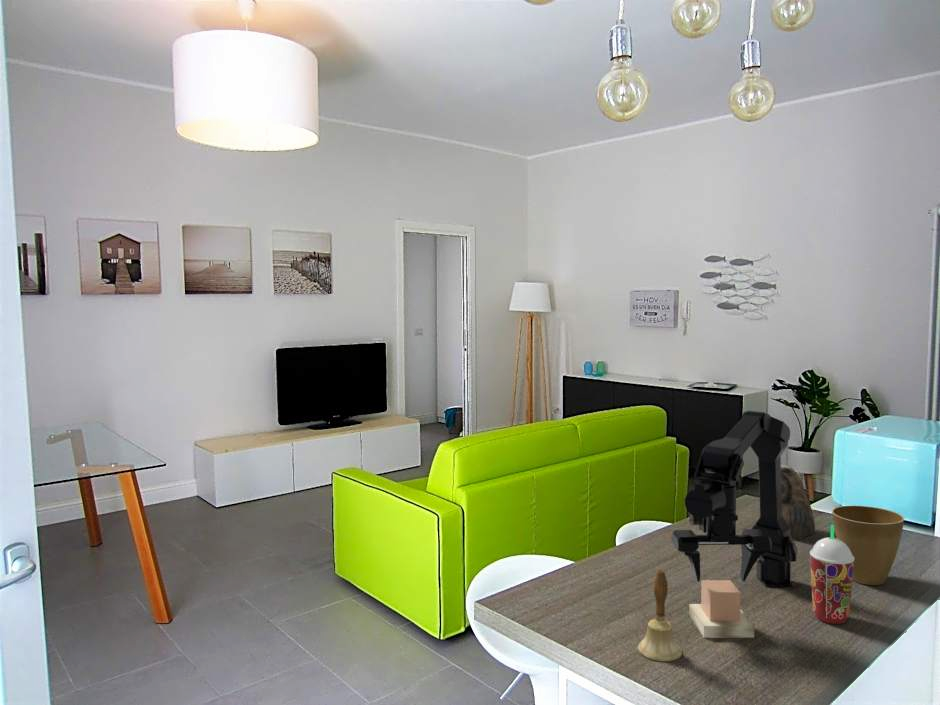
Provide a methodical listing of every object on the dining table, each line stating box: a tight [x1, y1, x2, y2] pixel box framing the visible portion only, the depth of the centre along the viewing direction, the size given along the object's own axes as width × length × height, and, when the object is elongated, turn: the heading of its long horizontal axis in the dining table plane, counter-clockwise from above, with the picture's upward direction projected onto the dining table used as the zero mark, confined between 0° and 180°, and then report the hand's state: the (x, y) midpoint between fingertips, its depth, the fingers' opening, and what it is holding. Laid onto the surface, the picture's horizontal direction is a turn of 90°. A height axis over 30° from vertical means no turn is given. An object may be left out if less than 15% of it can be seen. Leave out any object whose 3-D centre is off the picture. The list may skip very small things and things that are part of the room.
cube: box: [700, 579, 741, 621], centre depth 142 cm, size 6×6×6 cm
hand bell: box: [637, 569, 683, 662], centre depth 133 cm, size 8×8×16 cm
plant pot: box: [831, 505, 905, 586], centre depth 164 cm, size 15×15×16 cm
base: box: [688, 603, 755, 639], centre depth 143 cm, size 10×10×3 cm
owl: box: [781, 462, 816, 541], centre depth 198 cm, size 13×13×20 cm
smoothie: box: [809, 524, 855, 625], centre depth 144 cm, size 8×8×20 cm
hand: (720, 580), depth 142 cm, fingers open, 9 cm apart
